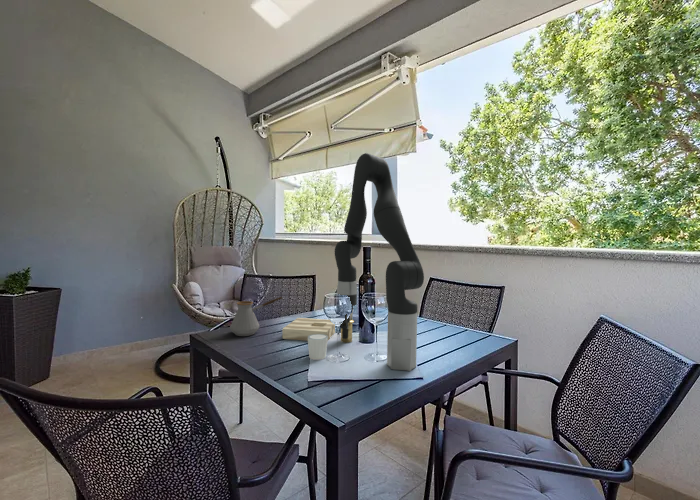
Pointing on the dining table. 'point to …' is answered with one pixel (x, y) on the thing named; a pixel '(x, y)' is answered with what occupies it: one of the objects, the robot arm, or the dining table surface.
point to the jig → (308, 328)
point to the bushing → (348, 333)
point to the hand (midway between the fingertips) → (346, 336)
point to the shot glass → (317, 346)
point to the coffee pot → (247, 318)
